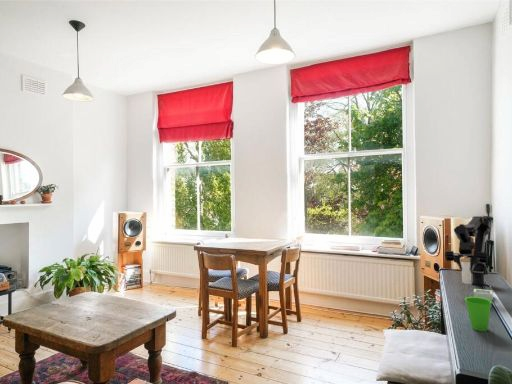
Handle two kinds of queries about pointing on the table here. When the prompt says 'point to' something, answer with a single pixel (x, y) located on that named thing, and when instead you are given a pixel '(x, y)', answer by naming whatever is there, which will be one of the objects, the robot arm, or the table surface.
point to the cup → (479, 312)
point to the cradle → (483, 294)
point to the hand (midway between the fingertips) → (466, 270)
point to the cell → (466, 270)
